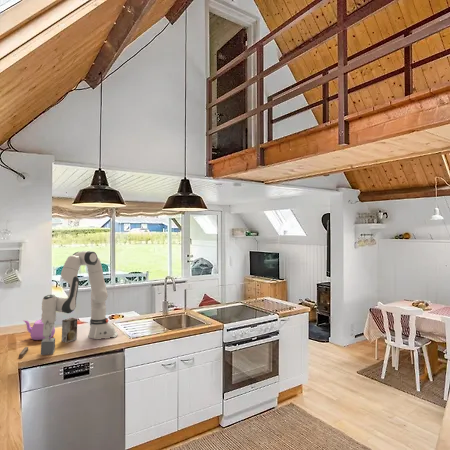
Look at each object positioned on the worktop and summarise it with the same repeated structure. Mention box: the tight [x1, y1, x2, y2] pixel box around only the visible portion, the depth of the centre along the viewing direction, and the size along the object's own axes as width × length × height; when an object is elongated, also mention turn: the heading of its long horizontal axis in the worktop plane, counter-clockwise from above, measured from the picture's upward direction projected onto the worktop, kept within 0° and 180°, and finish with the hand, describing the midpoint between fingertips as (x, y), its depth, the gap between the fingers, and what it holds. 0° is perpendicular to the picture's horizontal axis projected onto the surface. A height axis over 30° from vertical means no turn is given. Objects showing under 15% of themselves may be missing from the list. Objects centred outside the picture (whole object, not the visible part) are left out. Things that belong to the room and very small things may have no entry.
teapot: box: [22, 318, 56, 341], centre depth 271 cm, size 23×21×15 cm
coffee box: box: [61, 317, 78, 343], centre depth 266 cm, size 9×6×16 cm
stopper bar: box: [18, 346, 29, 359], centre depth 235 cm, size 2×14×2 cm, turn 17°
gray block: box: [40, 337, 56, 356], centre depth 239 cm, size 7×7×9 cm
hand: (48, 338), depth 239 cm, fingers open, 8 cm apart
